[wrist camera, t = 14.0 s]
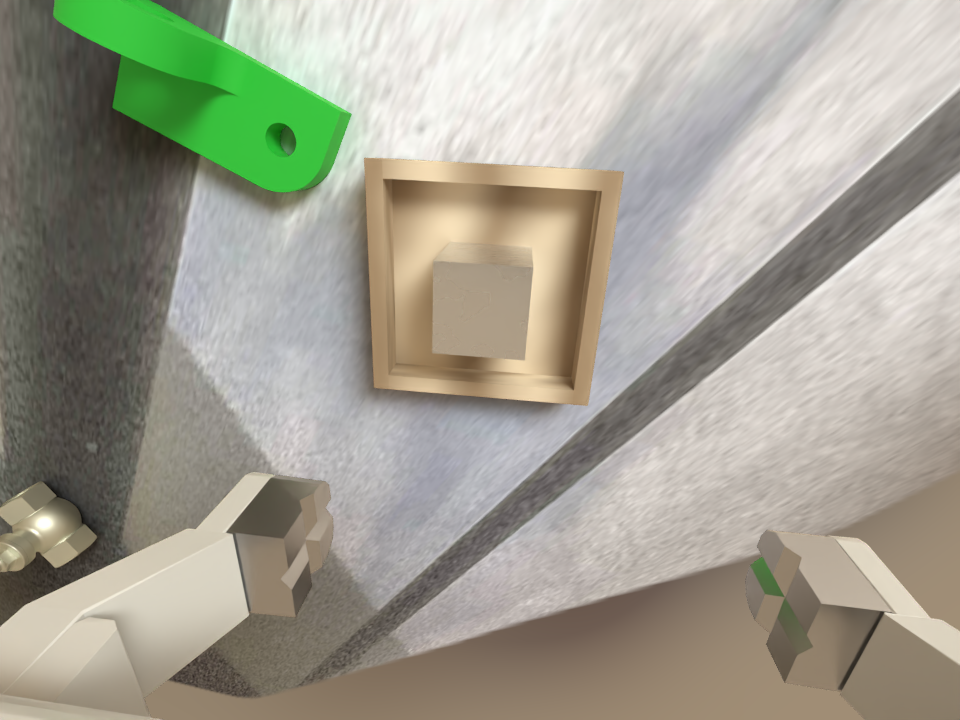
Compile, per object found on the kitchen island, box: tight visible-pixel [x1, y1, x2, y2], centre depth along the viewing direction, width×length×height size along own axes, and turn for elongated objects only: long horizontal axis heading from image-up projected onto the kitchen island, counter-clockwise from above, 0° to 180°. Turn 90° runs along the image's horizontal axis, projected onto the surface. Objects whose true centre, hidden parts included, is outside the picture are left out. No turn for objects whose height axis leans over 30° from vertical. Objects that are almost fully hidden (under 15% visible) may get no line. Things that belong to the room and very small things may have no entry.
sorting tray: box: [364, 158, 624, 406], centre depth 30 cm, size 14×14×3 cm
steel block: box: [432, 242, 533, 360], centre depth 27 cm, size 5×5×6 cm
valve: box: [0, 481, 97, 572], centre depth 37 cm, size 7×7×12 cm
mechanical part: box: [53, 0, 351, 192], centre depth 25 cm, size 12×6×8 cm, turn 62°
